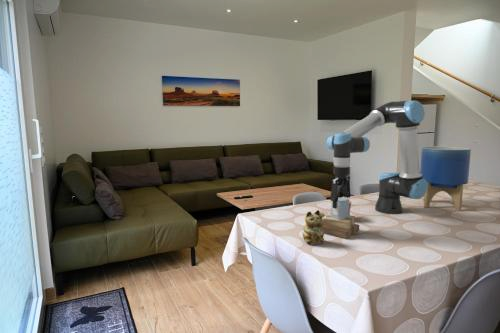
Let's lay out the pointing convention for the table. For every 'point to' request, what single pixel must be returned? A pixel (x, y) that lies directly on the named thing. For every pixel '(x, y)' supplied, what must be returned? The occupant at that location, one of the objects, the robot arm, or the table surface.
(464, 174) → the planter
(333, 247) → the table surface
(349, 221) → the slab upper
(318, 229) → the decorative figurine
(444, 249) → the table surface
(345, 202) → the block
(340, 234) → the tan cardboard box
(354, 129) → the robot arm
